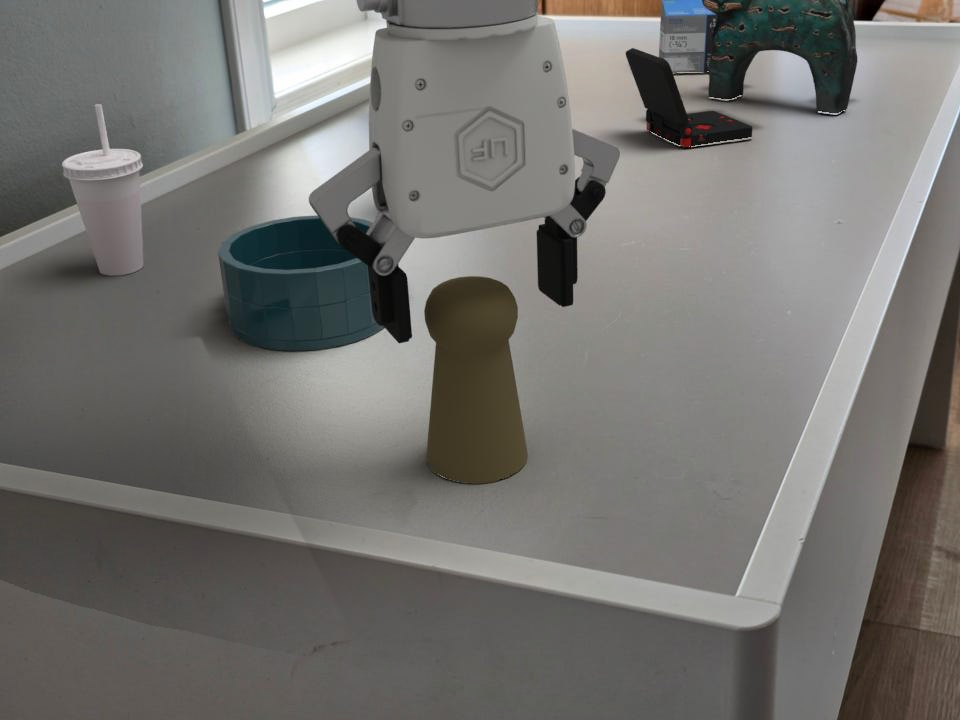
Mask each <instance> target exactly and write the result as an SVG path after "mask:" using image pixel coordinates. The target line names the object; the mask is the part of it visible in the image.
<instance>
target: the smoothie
mask: <svg viewBox="0 0 960 720" xmlns="http://www.w3.org/2000/svg"><path fill="white" fill-rule="evenodd" d="M94 110H95V115H96V120H97V126H98V133H99V138H100V142H101V143H100V144H101V148H102V149H95V150H89V151H85V152H84V151H83V152H80V153H76V154H74V155H70V156H68V157H67V158H65V159H64V160H63V161H62V163H61V166H62V170H63V171H62V175H63V177H64V178H66V179H68V181H69V185H70V187H71V190H72V193H73V196H74V199H75V202H76V205H77V209H78V212H79V214H80V217H81V221H82V223H83V226H84V229H85V232H86V235H87V239H88V241H89V244H90V247H91V250H92V253H93V256H94V260H95V261H96V265H97V268H98V271H99V273H100V274H102V275H104V276H112V277H115V276H125V275H129V274H133V273H136V272H138V271H140V270H142V268H143V267H144V242H143V219H142V195H141V171H140V170H142V169H143V167H144V164H143V161H142V155H141V153H140V152H138V151H136V150H133V149H128V148H110V143H109V138H108V132H107V127H106V121H105V115H104V110H103V105H102V103H97V104H94Z"/></svg>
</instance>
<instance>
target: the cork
mask: <svg viewBox="0 0 960 720" xmlns="http://www.w3.org/2000/svg"><path fill="white" fill-rule="evenodd" d="M423 312H424V313H423V314H424V322H425V325H426V328H427V331H428V334H429V336H430V338H431V339H432V340H433V342H435V348H434V361H433V371H432V383H431V384H432V387H431V394H430V395H431V397H430V406H429V408H430V409H429V419H428V430H427V431H428V432H427V442H426V443H427V445H426V456H425V460H426V459H427V460H426V463H428V464H427V467H428V466H429V467H430V468H431V469H432V470H433V471H434V472H435V473H436V474H439V475H441V476H443V477H445V478H447V479H451V480H455V481H459V482H467V483H466V484H469V483H470V484H471V485H478V484H479V485H481V484H488V483H496V482H498V481H501V480H500V479H502V480H505V479H507V477H508V478H510V477H511V476H510V475H512V474H513V475H515V474H517V473H518V472H520V471H521V470H522V469H523V467H525V466H526V464H527V461H528V456H529V453H528V447H527V441H526V436H525V435H526V434H525V429H524V423H523V416H522V411H521V405H520V400H519V392H518V387H517V381H516V375H515V370H514V364H513V358H512V351H511V345H510V339H511V337H512V336H513V335H514V333H515V329H516V326H517V321H518V318H519V306H518V303H517V299H516V297H515V296H514V294H513V292H512V290H511V289H510V288H509V286H508V285H506V284H505V283H504V282H502V281H499V280H498V279H495V278H491V277H486V276H481V275H476V276H475V275H473V276H472V275H468V276H458V277H454V278H450V279H448V280H447V279H446V280H444V281H443V282H441V283H439V284H437V285H436V286H435V287H433V288H432V290H431V291H430V293H429V295H428V296H427V299H426V301H425V305H424V310H423ZM429 467H428V468H429ZM430 468H429V469H430ZM521 468H522V469H521ZM431 469H430V470H431ZM520 469H521V470H520ZM432 470H431V471H432ZM519 470H520V471H519ZM433 471H432V472H433ZM434 472H433V473H434ZM516 472H517V473H516ZM435 473H434V474H435ZM514 473H515V474H514ZM436 474H435V475H436ZM513 475H512V476H513ZM504 478H505V479H504ZM459 482H458V483H459Z"/></svg>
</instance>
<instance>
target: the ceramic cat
mask: <svg viewBox="0 0 960 720" xmlns="http://www.w3.org/2000/svg"><path fill="white" fill-rule="evenodd" d="M702 3H703V5H704V6H705V7H706V8H707V9H708V10H709V11H711V12H713V13H715V14H716V15H717V16H718V19H717V22H716V25H715V27H714V31H713V34H712V46H711V56H710V59H709V73H708V93H707V98H708V97H714V98H721V99H732V98H735V97H737V96H739V95H743V96H744V89H745V88H744V87H745V85H744V83H745V78H746V75H747V71H748V69H749V67H750V65H751V64H752V62H753V60H754V58H755V57H756V56H757V55H758V54H759V52H764V51H765V52H766V51H767V52H768V51H779V52H786V53H789V54H793V55H796V56H798V57H800V58H802V59H803V60H805V61H806V63H807V64H808V67H809V70H810V73H811V76H812V81H813V86H814V92H815V106H816V112H817V111H822V112H829V113H839V112H841V111H843V110H846V109H847V110H848V107H849V102H850V98H851V93H852V89H853V85H854V80H855V75H856V71H857V67H858V53H857V43H856V42H857V33H856V26H855V21H854V16H853V13H852V10H851V8H850V6H849V4H850V2H849V0H702Z"/></svg>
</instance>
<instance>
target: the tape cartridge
mask: <svg viewBox="0 0 960 720" xmlns="http://www.w3.org/2000/svg"><path fill="white" fill-rule="evenodd" d="M717 19H718V16H717V15H716V14H715V13H713V12H711V11H709V10H708V9H707V8H706V7H705V6H704V5H703V3H702V0H661V4H660V23H659V25H660V26H659V42H658V43H659V44H658V57H660V58H662V59H665V60H666V61H667V62H668V63H669V65H670V67H671V70H672V73H677V72H707V71H709V59H710V56H711V46H712V34H713V31H714V27H715V25H716V22H717Z"/></svg>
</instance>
